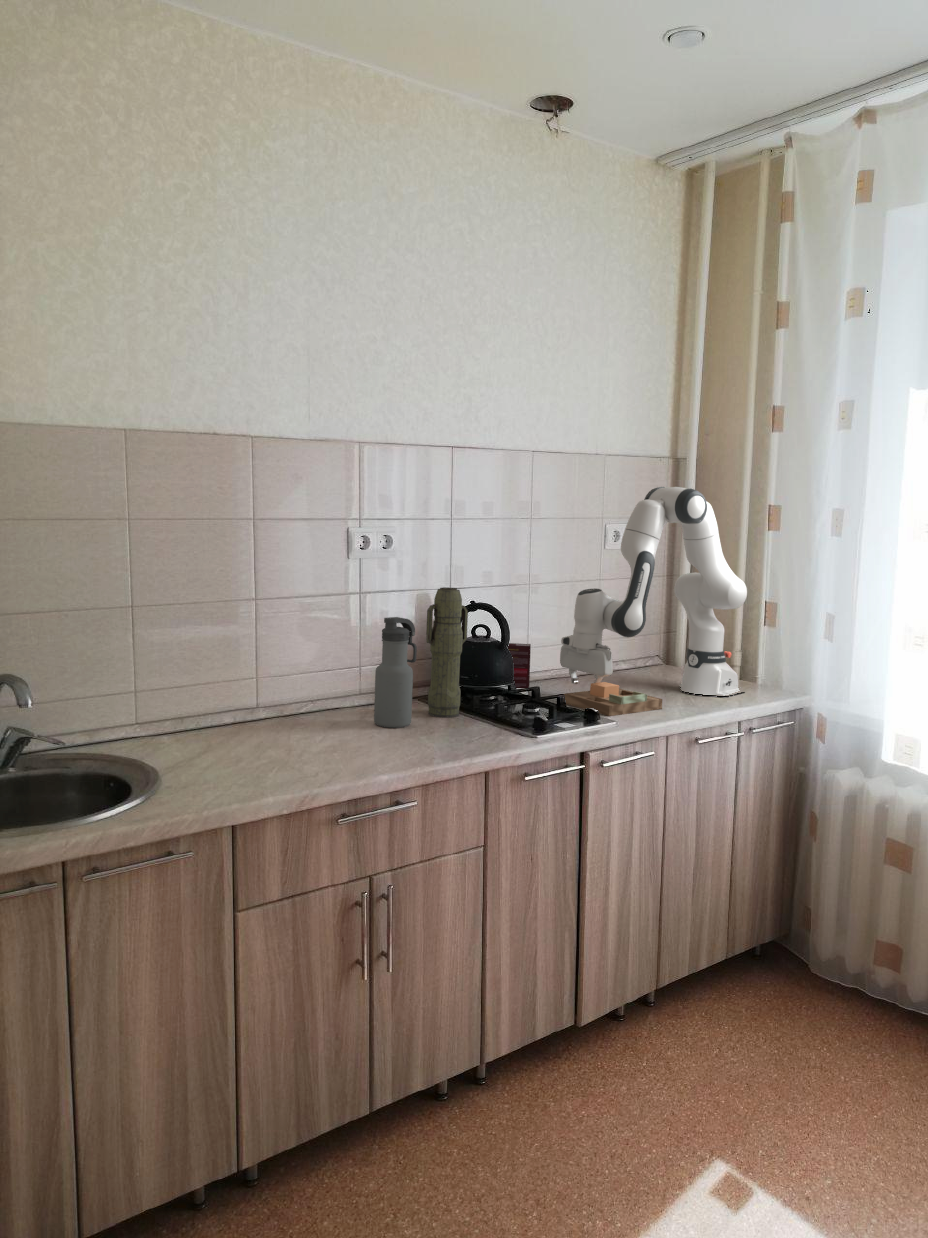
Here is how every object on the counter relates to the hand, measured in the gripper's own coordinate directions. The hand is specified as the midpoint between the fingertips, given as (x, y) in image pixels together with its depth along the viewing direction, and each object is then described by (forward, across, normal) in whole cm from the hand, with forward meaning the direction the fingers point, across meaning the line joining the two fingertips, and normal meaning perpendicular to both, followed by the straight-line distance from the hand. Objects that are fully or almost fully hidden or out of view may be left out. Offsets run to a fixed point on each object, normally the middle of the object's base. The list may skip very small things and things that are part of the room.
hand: (584, 686), depth 284 cm
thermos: (+4, +2, +51) cm, 51 cm away
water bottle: (+4, -2, +70) cm, 70 cm away
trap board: (+4, -11, -1) cm, 12 cm away
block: (+1, -9, 0) cm, 9 cm away
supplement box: (+4, +15, +15) cm, 22 cm away
